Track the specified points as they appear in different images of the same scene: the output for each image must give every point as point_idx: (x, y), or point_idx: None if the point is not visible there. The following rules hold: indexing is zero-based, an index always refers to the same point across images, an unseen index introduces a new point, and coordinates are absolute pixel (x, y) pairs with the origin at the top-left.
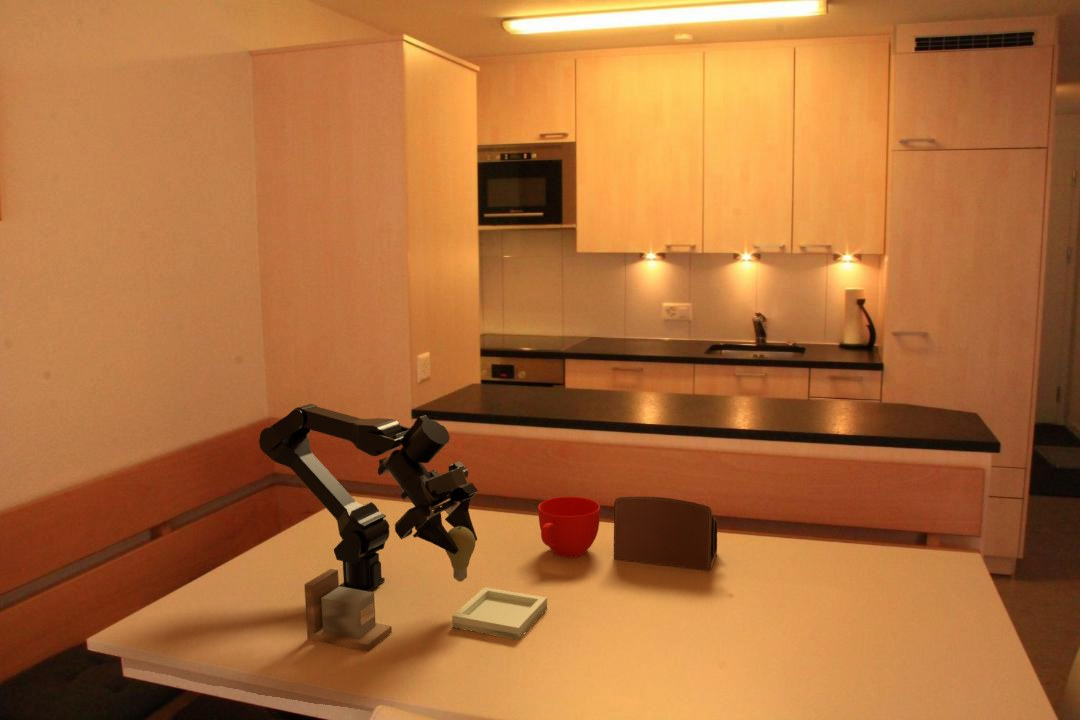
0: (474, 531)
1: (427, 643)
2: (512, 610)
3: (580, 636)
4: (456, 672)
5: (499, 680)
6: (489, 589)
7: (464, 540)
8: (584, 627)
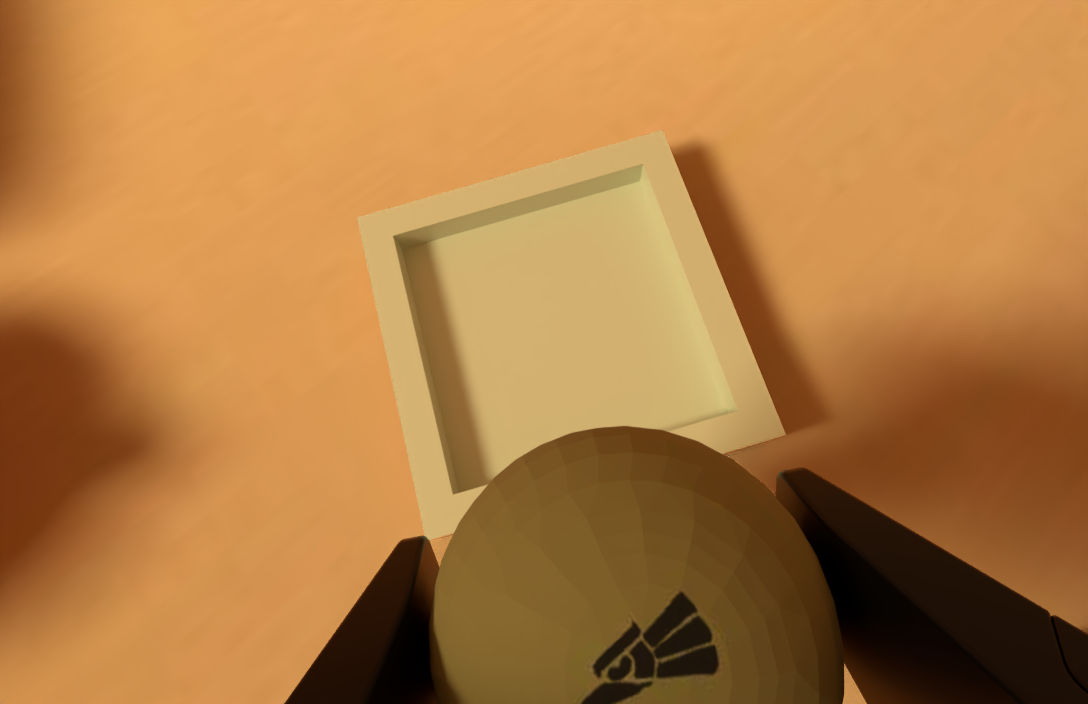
0: (358, 608)
1: (942, 426)
2: (505, 304)
3: (490, 33)
4: (990, 174)
5: (904, 41)
6: (435, 497)
7: (706, 454)
8: (426, 60)
